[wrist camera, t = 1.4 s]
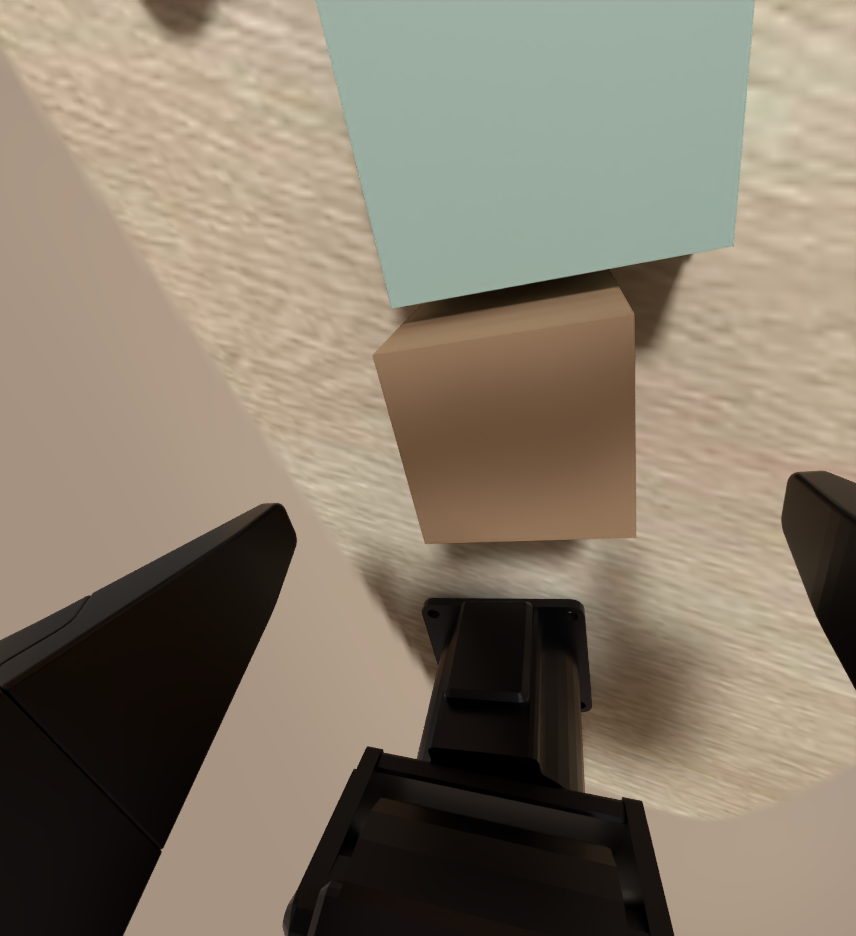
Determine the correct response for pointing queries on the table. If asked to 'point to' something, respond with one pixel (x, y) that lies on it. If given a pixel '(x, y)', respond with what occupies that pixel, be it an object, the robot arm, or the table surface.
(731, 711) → the table surface
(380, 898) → the robot arm
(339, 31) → the base brick
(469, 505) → the walnut block
